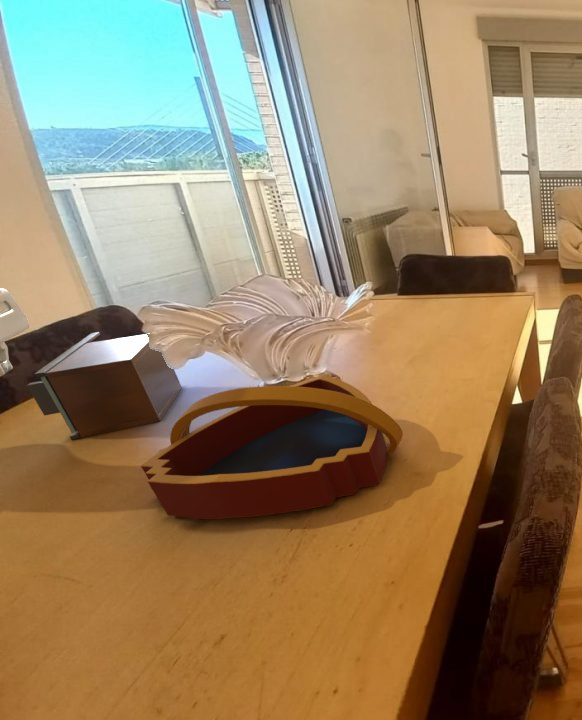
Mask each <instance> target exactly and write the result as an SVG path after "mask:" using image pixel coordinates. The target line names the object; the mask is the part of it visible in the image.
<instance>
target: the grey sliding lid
mask: <svg viewBox="0 0 582 720" xmlns="http://www.w3.org/2000/svg"><path fill="white" fill-rule="evenodd" d="M40 379H41V380H39V381H34V382H29V383H28V384H27V385H26V387H27V388H28V391H29V392H30V394H31V395H32V397H33V399H34V400H35V402H36V404H37V406H38V408H39V409H40V411H41V412H42V414H43V417H44V416H49V415H55V414H60V415H61V417H62V418H63V420H64V422H65V424H66V426H67V427H68V429H69V431H70V433H71V434H72V433H76V432H77V429H76V427H75V425H74V424H73V422H72V420H71V418H70V416H69V415H68V413H67V411H66V409H65V408H64V406H63V404H62V402H61V400H60V399H59V397H58V395H57V393H56V391H55V390H54V388H53V386H52V384H51V382H50V381H49V379H48V377H47V375H45V376H40Z"/></svg>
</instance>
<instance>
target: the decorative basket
mask: <svg viewBox="0 0 582 720" xmlns="http://www.w3.org/2000/svg"><path fill="white" fill-rule="evenodd" d="M231 408H235V409H233V410H230V411H229V412H228V411H227V412H226V413H224V414H223V415H221V416H218V417H216V418H215V419H212V420H211V421H209V422H207V423H205V424H203V425H202V426H200V427H198V428H196V429H194V430H193V431H191V430H190V428H191V424H192V422H193V421H194V420H195V419H197V418H199V417H201V416H203V415H205V414H209V413H212V412H216V411H221V410H225V409H231ZM403 436H404V434H403V429H402V427H401V426H400V425H399V423H398V422H397V421H396V420H395V419H394V418H393V417H392V416H391V415H389V414H388V413H387V412H385V410H383V409H381V408H380V407H378V406H376V405H375V404H373V403H372V401H371V400H370V399H369V398H368V396H367V395H365V393H363V392H362V391H361V390H359V389H358V388H357V387H356V386H353V385H351V384H350V383H348V382H345V381H343V380H341V379H338V378H336V377H333V376H329V375H326V374H321V375H318V376H314V377H311V378H308V379H305V380H303V381H299V382H296V383H293V384H290V385H280V386H279V385H267V386H265V385H263V386H248V387H239V388H233V389H228V390H223V391H219V392H217V393H214V394H210V395H208V396H205V397H203V398H200V399H199V400H197V401H195V402H194V403H193V404H191V405H190V406H189V407H188V408H187V409H186V410H185V411H184V412H183V414H182V415H181V416H180V417H179V419H178V420H177V421H176V422H175V423H174V425H173V426H172V428H171V431H170V435H169V440H170V445H168V446H167V447H165V448H164V449H162V450H161V451H159V452H158V453H156V454H155V455H153V456H152V457H150V458H149V459H148V460H146V461H145V462H144V463H142V464H141V465H140V467H141V469H142V471H143V472H144V475H145V476H146V478H147V479H148V480H147V484H148V485H149V487H150V489H151V490H152V491H153V493H154V495H155V497H156V498H157V500H158V501H159V503H160V505H161V506H162V508H163V510H164V511H165V513H166V515H167V516H169V517H178V518H185V519H186V518H187V519H188V518H189V519H203V520H219V519H231V518H248V517H249V518H250V517H260V516H268V515H269V516H270V515H277V514H282V513H290V512H295V511H302V510H309V509H315V508H321V507H325V506H331V505H333V503H334V502H335V500H336V498H339V497H344V496H345V497H346V496H352V495H356V493H357V491H359V489H360V488H366V487H372V486H378V485H380V484H381V481H382V479H383V476H384V474H385V470H386V467H387V462H388V456H389V455H391V454H393V453H394V452H395V451H396V450H397V448H398V446H399V444H400V443H401V441H402V438H403ZM385 437H387V438H388V441H389V444H387V442H386V439H385Z"/></svg>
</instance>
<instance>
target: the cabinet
mask: <svg viewBox="0 0 582 720" xmlns="http://www.w3.org/2000/svg"><path fill="white" fill-rule="evenodd" d="M147 334H148V333H145V334H139V335H138V334H137V335H132V336H126V337H117V338H112V339H105V340H97V341H94V340H95V339H96V338H98V337H100V336H101V332H99V331H96V332H90V334H88V335H87V336H86V337H84V338H82V339H81V340H80V341H78V342H77V343H75V344H74V345H73V346H71V347H70V348H68V349H67V350H66V351H64V352H63V353H61V354H59V356H57V357H56V358H55V359H53V360H52V361H50V362H49V363H47V364H46V365H44V366H43V367H42V368H40V369H38V370H37V371H36V372H35V373H33V375H34V377H35V378H38V377H42V376H45V375H47V377H48V379H49V381H50V382H51V384H52V386H53V388H54V390H55V391H56V393H57V395H58V397H59V399H60V400H61V402H62V404H63V406H64V408H65V409H66V411H67V413H68V415H69V416H70V418H71V420H72V422H73V424H74V425H75V427H76V429H77V432H76V433H71V434H70V435H69V439H70V440H71V441H74V440H78V439H84V438H88V437H92V436H98V435H102V434H106V433H112V432H116V431H121V430H125V429H130V428H135V427H140V426H145V425H150V424H155V423H158V422H161V420H162V419H163V418H164V416H165V415H166V413H167V411H168V410H169V408H170V407H171V406H172V403H173V402H174V401H175V399H176V397H178V395H179V393H180V391H181V390H182V388H183V386H182V385H181V382H180V380H179V378H178V375H177V373H176V371H175V368H174V369H171V368H169V367H168V366H167V364H166V362H165V360H164V358H163V356H162V353H161V352H159V351H155V350H152V349H150V347H149V337H148V335H147Z"/></svg>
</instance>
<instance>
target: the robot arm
mask: <svg viewBox="0 0 582 720" xmlns="http://www.w3.org/2000/svg"><path fill="white" fill-rule="evenodd" d="M29 329H30V322H29V319H28V317H27V315H26V313H25V312H24V311H23V309H22V308H21V306H20V305H19V303H18V301H17V300H16V299H15V298H14V296H13V295H12V294H11V293H10V292H9V290H7V289H5V288H1V287H0V377H3V376H4V375H5V374H7V373H8V372H10V371H12V370H13V369H14V367H13V365H12V363H11V361H10V359H9V348H8V345H7V343H6V341H8V340H10V339H12V338H13V337H16V336H17V335H19V334H21V333H23V332H24V331H27V330H29Z"/></svg>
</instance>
